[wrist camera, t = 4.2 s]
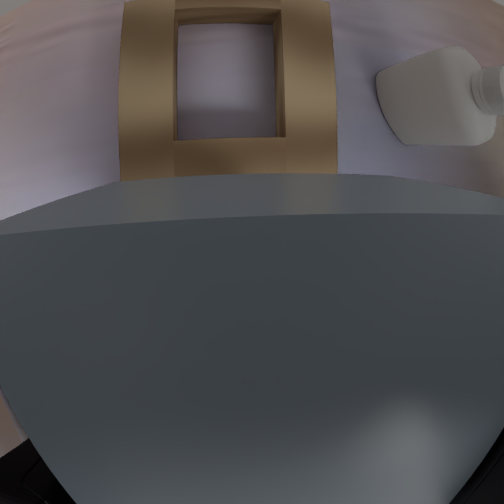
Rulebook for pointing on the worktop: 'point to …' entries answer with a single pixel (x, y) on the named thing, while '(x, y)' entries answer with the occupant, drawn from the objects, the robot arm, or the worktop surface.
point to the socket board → (226, 149)
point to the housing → (257, 338)
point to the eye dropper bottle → (442, 98)
